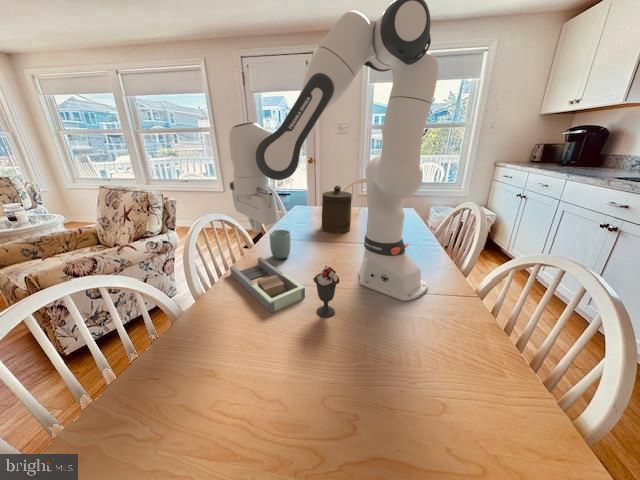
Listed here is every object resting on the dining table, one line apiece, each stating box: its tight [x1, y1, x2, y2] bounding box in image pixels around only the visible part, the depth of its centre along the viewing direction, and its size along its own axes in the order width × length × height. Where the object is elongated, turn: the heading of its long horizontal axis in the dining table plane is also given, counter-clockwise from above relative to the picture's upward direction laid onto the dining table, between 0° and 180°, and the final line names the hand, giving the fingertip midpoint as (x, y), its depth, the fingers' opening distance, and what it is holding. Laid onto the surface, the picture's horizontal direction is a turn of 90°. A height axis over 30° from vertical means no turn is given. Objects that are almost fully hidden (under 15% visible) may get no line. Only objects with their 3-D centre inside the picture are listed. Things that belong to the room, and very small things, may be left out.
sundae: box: [312, 265, 340, 319], centre depth 66 cm, size 7×7×15 cm
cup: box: [269, 229, 292, 260], centre depth 99 cm, size 8×8×10 cm
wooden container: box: [321, 185, 353, 234], centre depth 128 cm, size 15×15×22 cm
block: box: [257, 275, 286, 298], centre depth 76 cm, size 6×6×4 cm
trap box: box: [229, 257, 306, 314], centre depth 80 cm, size 27×11×4 cm, turn 40°
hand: (256, 231), depth 77 cm, fingers closed
